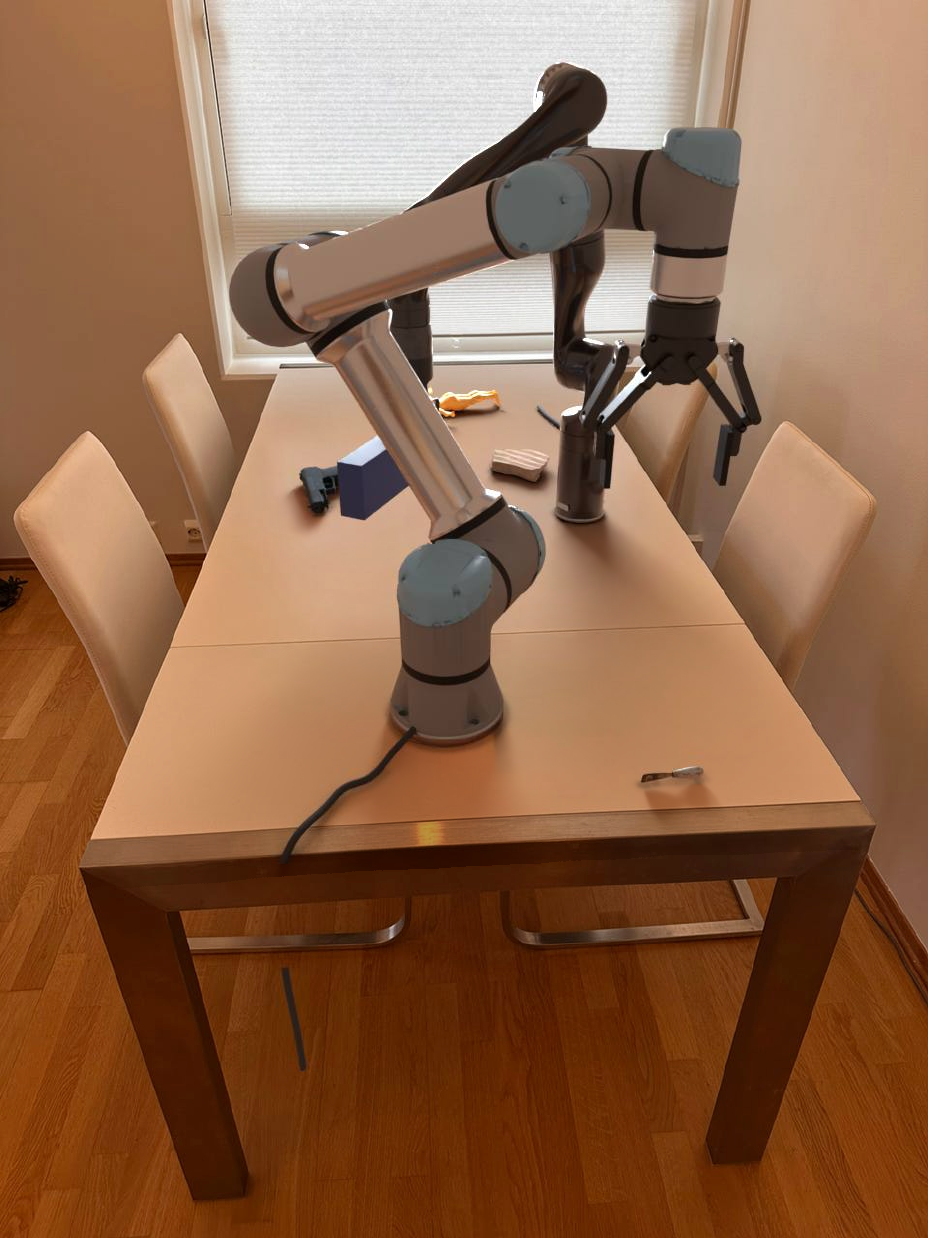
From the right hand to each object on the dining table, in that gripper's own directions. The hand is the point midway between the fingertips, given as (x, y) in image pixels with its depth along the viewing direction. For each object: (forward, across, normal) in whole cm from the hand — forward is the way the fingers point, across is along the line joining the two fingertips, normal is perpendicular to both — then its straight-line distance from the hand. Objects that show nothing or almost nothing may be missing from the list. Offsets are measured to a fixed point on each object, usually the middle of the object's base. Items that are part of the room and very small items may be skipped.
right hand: (413, 447), depth 156 cm
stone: (+18, +14, -35) cm, 42 cm away
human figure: (+18, +56, -45) cm, 74 cm away
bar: (+5, -5, +9) cm, 11 cm away
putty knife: (+18, -74, +10) cm, 77 cm away
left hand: (-15, -60, +2) cm, 62 cm away
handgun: (+18, +26, +4) cm, 32 cm away
